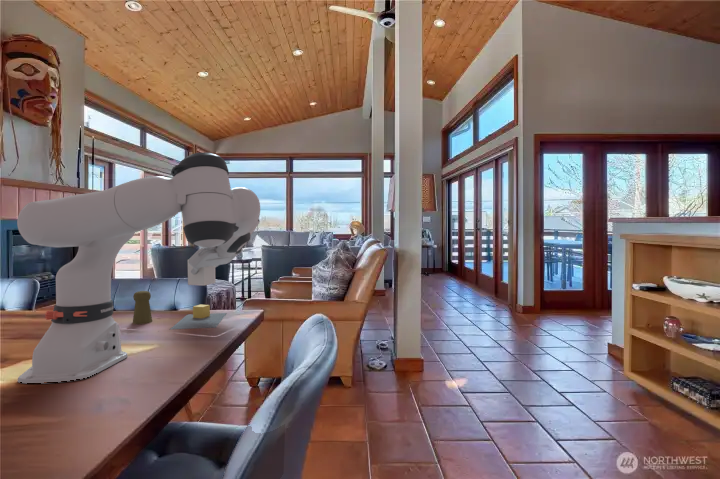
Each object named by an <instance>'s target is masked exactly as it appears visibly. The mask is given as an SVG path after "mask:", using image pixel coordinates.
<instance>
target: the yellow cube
mask: <svg viewBox="0 0 720 479" xmlns="http://www.w3.org/2000/svg"><path fill="white" fill-rule="evenodd" d="M210 310H211V305H210V304H201V303H200V304H197V305H194V306H192V314H193V318H205V317H208V316H210V314H211V311H210Z"/></svg>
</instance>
